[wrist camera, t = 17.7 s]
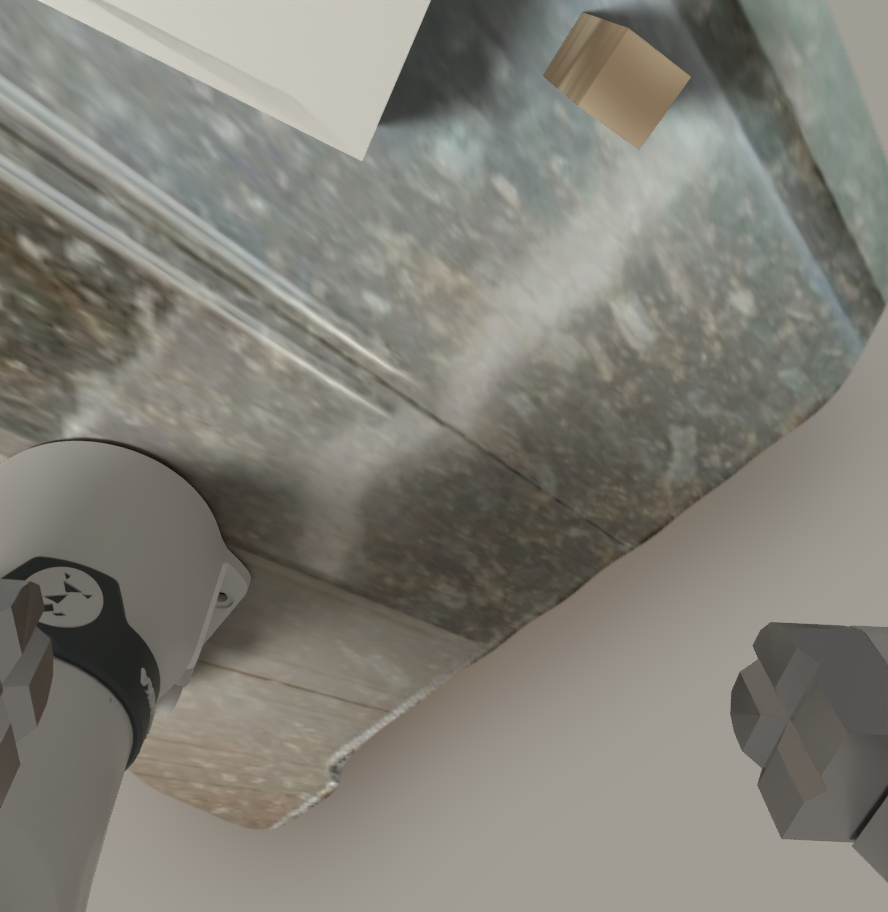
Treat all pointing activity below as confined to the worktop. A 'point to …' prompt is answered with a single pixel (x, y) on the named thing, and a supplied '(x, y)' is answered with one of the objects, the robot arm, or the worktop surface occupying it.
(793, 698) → the robot arm
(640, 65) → the brown wooden block
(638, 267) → the worktop surface
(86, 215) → the worktop surface
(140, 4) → the box
